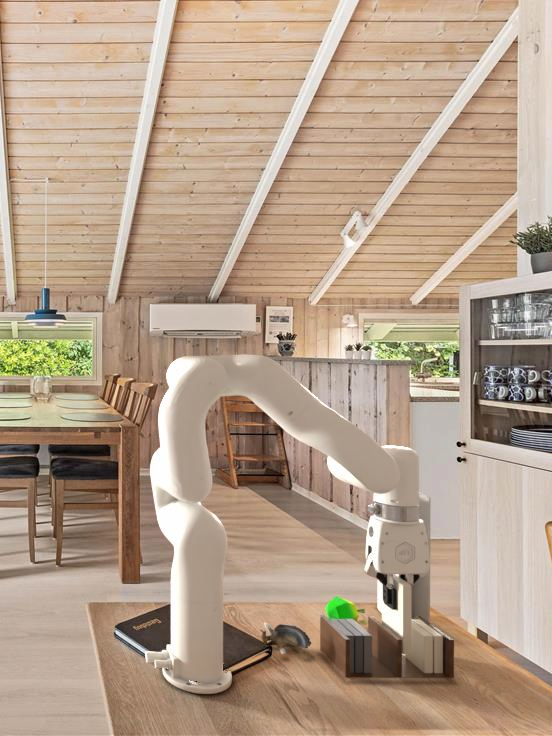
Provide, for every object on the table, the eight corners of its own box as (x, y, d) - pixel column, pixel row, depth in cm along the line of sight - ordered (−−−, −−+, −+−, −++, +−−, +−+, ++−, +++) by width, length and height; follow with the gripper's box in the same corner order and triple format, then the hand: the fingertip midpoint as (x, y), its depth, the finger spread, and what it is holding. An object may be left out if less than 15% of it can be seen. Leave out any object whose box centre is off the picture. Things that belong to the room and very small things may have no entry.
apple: (329, 593, 137) (364, 590, 138) (314, 603, 141) (349, 599, 143) (344, 627, 132) (380, 623, 134) (329, 636, 137) (364, 632, 138)
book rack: (345, 682, 115) (345, 639, 115) (320, 655, 125) (320, 615, 125) (454, 683, 115) (454, 640, 115) (419, 655, 125) (419, 615, 125)
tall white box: (430, 639, 131) (430, 497, 131) (401, 637, 132) (401, 496, 132) (403, 610, 145) (403, 482, 145) (377, 608, 146) (378, 481, 146)
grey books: (346, 673, 116) (346, 635, 116) (327, 653, 123) (327, 618, 123) (372, 673, 116) (372, 635, 116) (352, 653, 123) (352, 618, 123)
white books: (424, 673, 116) (424, 636, 116) (401, 654, 123) (401, 618, 123) (443, 673, 116) (443, 636, 116) (419, 654, 123) (419, 619, 123)
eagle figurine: (265, 658, 121) (314, 656, 119) (257, 618, 125) (305, 615, 123) (265, 663, 127) (312, 661, 125) (258, 625, 131) (303, 622, 129)
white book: (403, 654, 116) (403, 585, 116) (381, 636, 123) (381, 570, 123) (411, 654, 116) (411, 585, 116) (389, 636, 123) (389, 570, 123)
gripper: (365, 517, 116) (366, 615, 116) (450, 517, 116) (450, 615, 116) (345, 506, 124) (345, 598, 124) (424, 506, 123) (424, 598, 123)
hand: (396, 606), depth 120 cm, fingers closed on white book, 1 cm apart
